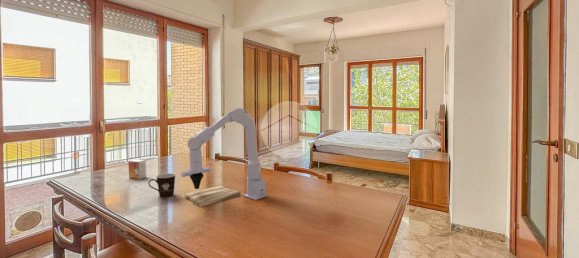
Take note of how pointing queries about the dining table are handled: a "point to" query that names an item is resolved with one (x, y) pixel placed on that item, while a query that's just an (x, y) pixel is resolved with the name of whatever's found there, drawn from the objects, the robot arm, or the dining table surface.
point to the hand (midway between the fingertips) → (196, 188)
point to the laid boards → (216, 197)
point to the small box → (137, 169)
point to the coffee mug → (165, 184)
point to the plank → (205, 192)
